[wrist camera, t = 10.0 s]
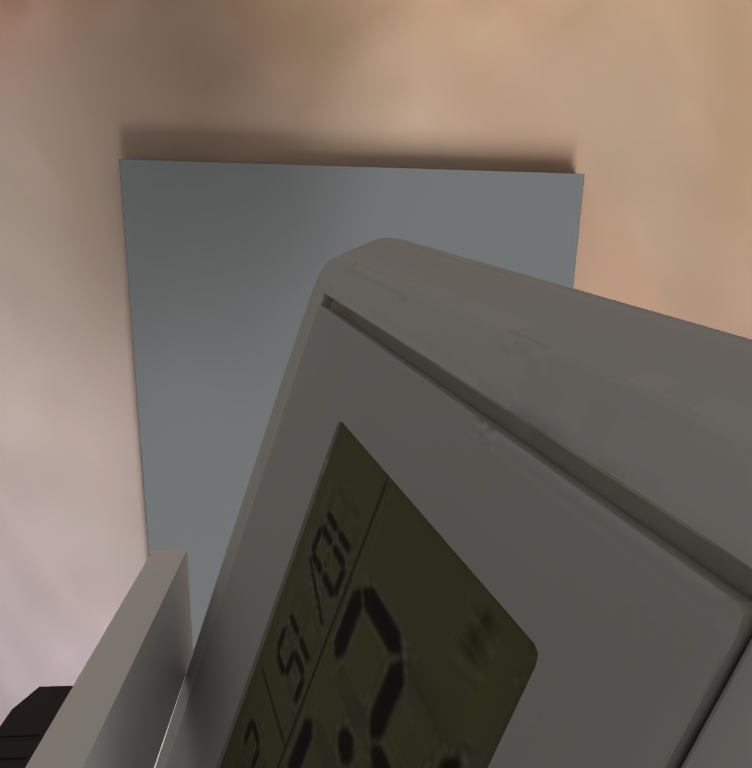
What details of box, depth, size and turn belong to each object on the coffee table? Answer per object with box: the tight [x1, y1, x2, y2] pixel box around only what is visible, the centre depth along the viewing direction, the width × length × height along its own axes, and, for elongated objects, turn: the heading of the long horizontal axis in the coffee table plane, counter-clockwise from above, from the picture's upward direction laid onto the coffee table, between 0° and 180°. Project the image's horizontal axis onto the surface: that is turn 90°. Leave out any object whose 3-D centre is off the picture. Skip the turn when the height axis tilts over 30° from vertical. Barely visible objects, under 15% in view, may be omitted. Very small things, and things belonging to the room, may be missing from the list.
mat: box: [119, 159, 585, 652], centre depth 26 cm, size 22×18×1 cm
